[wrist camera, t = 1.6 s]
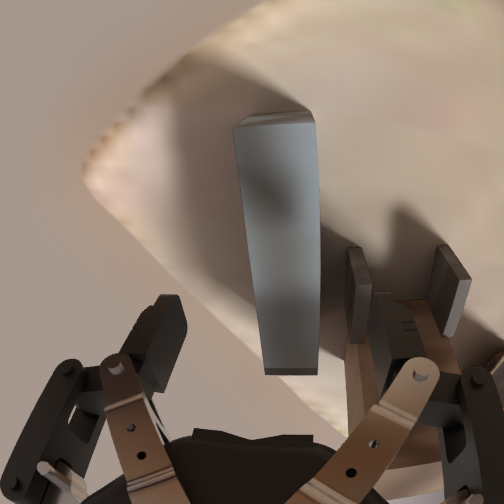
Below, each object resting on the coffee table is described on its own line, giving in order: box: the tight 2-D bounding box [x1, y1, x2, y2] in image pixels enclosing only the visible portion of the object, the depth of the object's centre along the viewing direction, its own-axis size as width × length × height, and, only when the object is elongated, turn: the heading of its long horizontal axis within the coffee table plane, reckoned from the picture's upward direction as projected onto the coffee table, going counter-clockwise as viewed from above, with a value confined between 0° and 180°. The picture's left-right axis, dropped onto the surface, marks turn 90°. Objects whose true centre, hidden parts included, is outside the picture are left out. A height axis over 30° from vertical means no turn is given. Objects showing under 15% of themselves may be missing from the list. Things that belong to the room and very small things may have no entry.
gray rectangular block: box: [233, 111, 320, 375], centre depth 20 cm, size 4×16×6 cm, turn 6°
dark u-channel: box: [344, 245, 472, 500], centre depth 18 cm, size 8×12×14 cm, turn 6°
